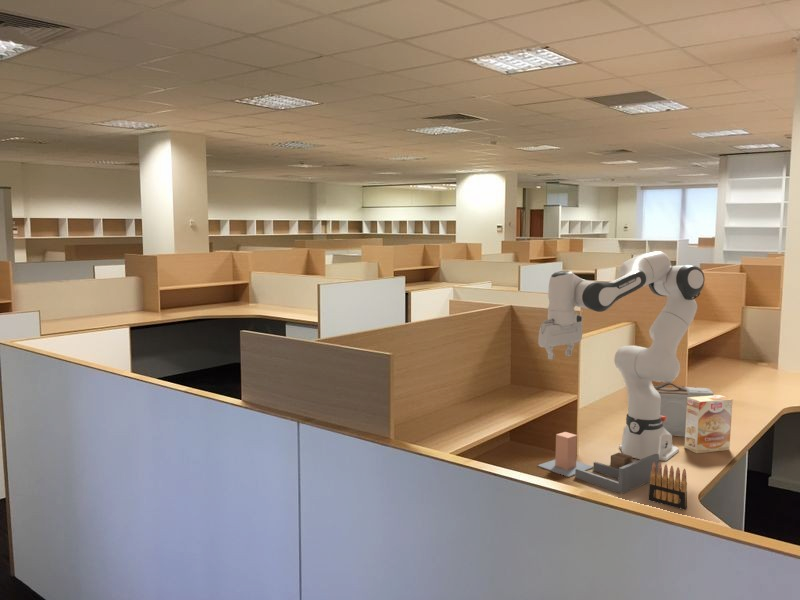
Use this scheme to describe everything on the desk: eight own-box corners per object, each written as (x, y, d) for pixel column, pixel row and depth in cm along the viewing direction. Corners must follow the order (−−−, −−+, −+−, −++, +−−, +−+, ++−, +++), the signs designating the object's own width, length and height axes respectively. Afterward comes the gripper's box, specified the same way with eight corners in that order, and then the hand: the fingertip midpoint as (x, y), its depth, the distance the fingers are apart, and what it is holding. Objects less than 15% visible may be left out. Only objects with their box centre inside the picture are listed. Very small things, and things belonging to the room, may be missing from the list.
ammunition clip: (648, 500, 199) (649, 461, 198) (650, 498, 201) (652, 460, 199) (684, 509, 192) (686, 470, 191) (687, 507, 194) (688, 468, 192)
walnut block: (618, 469, 225) (619, 452, 224) (631, 473, 221) (632, 456, 220) (610, 472, 222) (610, 455, 221) (623, 477, 218) (624, 459, 217)
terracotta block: (564, 462, 230) (565, 431, 229) (576, 466, 226) (577, 435, 225) (555, 465, 227) (556, 434, 226) (567, 469, 223) (568, 438, 222)
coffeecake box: (697, 453, 240) (699, 401, 238) (683, 447, 247) (686, 396, 245) (730, 450, 245) (733, 398, 242) (716, 444, 251) (719, 394, 249)
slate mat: (562, 457, 236) (562, 456, 236) (593, 467, 226) (593, 466, 226) (537, 466, 227) (537, 465, 227) (568, 477, 217) (568, 476, 217)
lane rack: (612, 463, 230) (612, 441, 229) (657, 478, 217) (658, 454, 216) (575, 477, 217) (575, 454, 216) (621, 493, 204) (622, 468, 203)
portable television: (711, 438, 258) (715, 363, 255) (647, 434, 263) (650, 360, 260) (704, 429, 270) (707, 357, 267) (643, 425, 275) (645, 355, 272)
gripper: (549, 321, 219) (548, 362, 220) (586, 316, 232) (585, 355, 233) (534, 319, 224) (533, 359, 225) (571, 314, 237) (570, 352, 238)
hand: (559, 357), depth 229 cm, fingers open, 8 cm apart
